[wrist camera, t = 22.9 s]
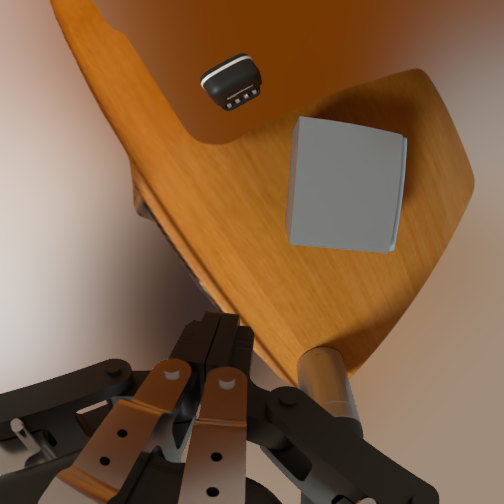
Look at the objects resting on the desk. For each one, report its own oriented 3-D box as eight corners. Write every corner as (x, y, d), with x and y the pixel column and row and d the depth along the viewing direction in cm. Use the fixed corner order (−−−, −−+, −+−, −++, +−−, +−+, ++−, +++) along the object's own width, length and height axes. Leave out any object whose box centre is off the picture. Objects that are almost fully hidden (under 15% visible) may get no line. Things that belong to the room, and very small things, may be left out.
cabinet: (359, 230, 41) (388, 253, 29) (285, 222, 41) (289, 244, 30) (368, 142, 36) (402, 134, 25) (292, 131, 37) (299, 116, 26)
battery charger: (227, 118, 37) (209, 101, 26) (214, 99, 36) (194, 77, 26) (267, 96, 36) (264, 71, 25) (254, 77, 35) (247, 48, 24)
